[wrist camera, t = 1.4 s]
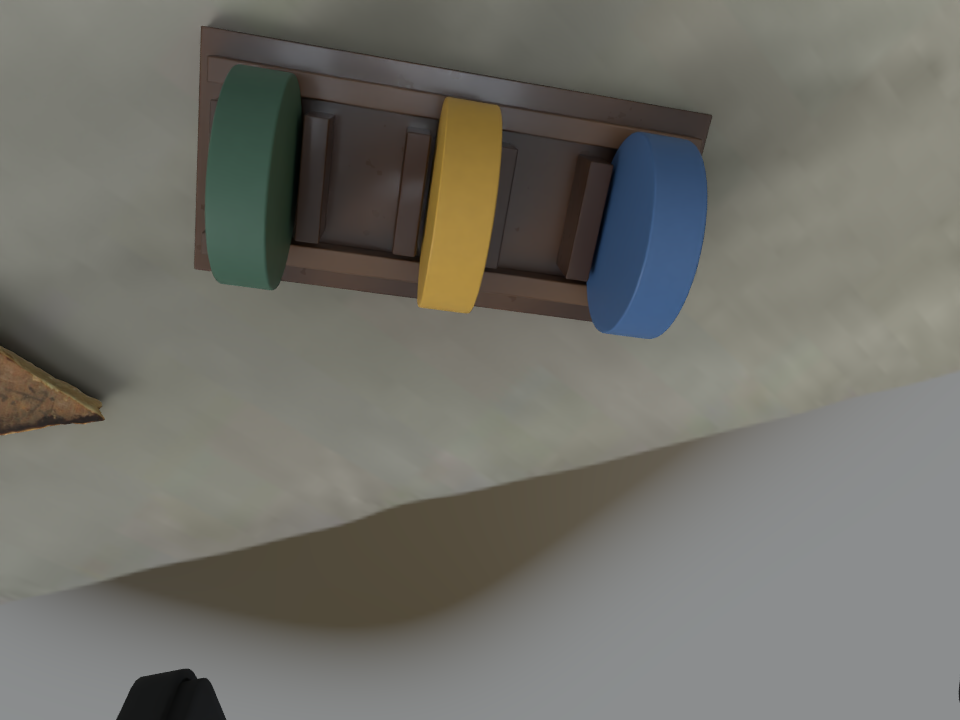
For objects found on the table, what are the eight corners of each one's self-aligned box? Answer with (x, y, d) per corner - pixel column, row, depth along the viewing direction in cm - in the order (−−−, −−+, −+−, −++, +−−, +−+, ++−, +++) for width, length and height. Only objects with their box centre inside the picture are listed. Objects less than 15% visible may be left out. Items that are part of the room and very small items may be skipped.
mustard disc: (416, 277, 34) (418, 334, 27) (441, 93, 32) (451, 100, 24) (459, 284, 35) (473, 341, 27) (488, 101, 32) (512, 110, 24)
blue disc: (575, 299, 35) (618, 363, 28) (613, 123, 33) (673, 142, 25) (616, 304, 36) (670, 369, 28) (657, 130, 33) (729, 151, 25)
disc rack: (198, 264, 34) (178, 284, 31) (205, 26, 31) (183, 23, 28) (651, 324, 37) (671, 348, 34) (706, 113, 34) (734, 119, 31)
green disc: (247, 254, 33) (200, 311, 26) (257, 62, 30) (208, 65, 23) (293, 260, 34) (260, 319, 26) (307, 70, 31) (275, 76, 23)
